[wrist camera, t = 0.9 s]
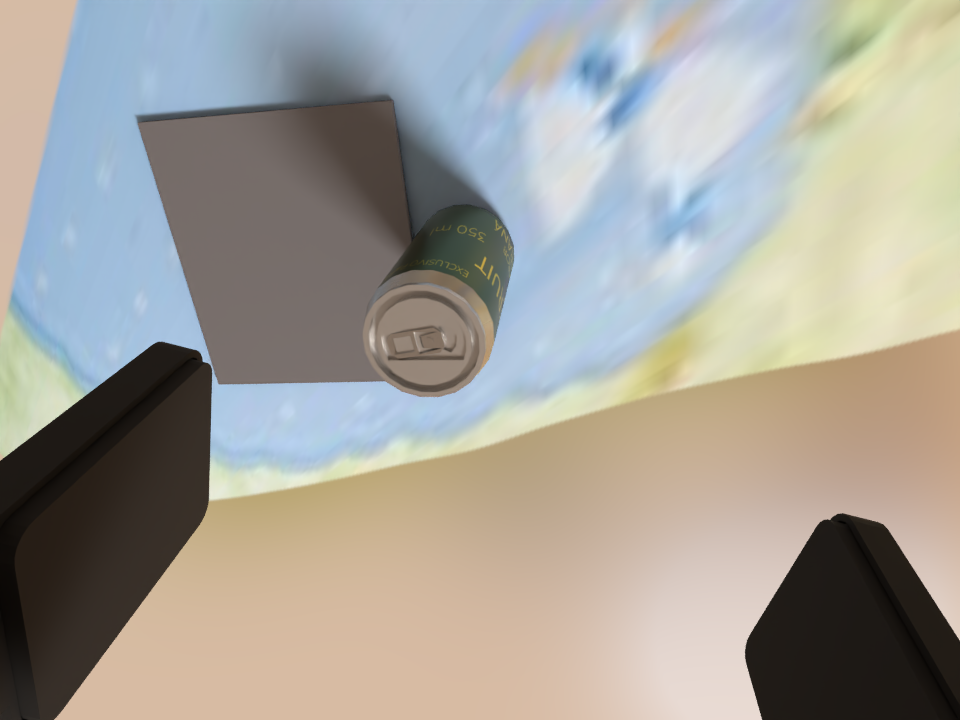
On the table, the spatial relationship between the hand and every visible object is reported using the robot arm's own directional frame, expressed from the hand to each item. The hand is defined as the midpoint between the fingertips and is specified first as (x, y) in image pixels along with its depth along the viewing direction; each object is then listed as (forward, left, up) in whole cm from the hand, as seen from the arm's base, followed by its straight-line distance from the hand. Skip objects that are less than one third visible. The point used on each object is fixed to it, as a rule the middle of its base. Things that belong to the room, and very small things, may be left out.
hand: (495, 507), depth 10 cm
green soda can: (+5, +4, -27) cm, 28 cm away
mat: (+15, +4, -27) cm, 31 cm away
